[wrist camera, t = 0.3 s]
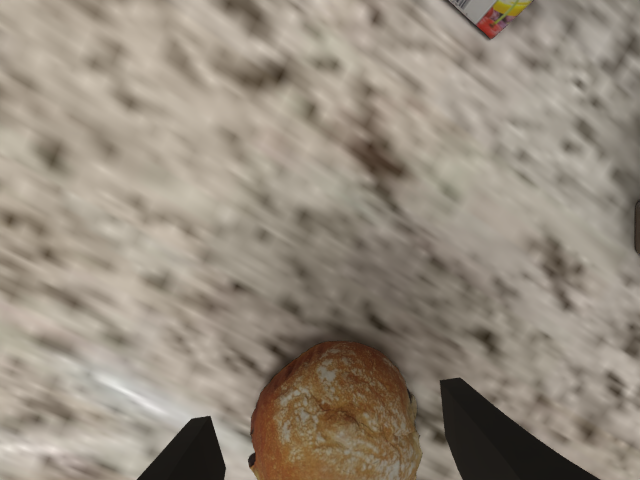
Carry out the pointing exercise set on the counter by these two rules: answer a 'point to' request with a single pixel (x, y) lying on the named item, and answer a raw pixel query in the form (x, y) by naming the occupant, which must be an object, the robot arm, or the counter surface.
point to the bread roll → (336, 418)
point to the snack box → (491, 13)
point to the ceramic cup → (637, 228)
